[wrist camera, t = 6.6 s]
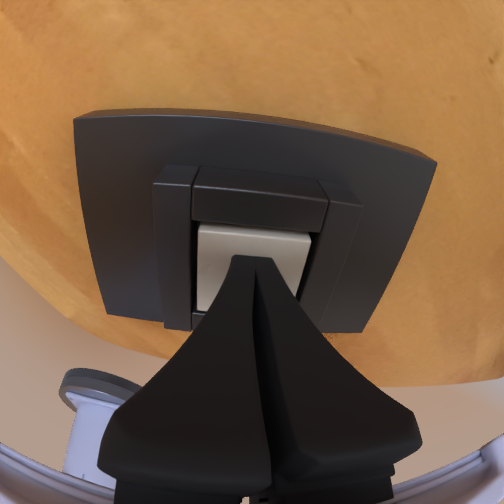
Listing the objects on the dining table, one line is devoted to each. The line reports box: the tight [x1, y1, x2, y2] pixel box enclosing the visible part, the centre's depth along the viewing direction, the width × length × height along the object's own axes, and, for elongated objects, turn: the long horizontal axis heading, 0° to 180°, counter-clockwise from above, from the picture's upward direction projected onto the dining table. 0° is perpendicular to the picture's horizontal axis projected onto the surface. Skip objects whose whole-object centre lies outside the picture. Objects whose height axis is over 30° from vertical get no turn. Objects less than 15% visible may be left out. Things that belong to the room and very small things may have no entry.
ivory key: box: [197, 221, 311, 311], centre depth 11 cm, size 4×4×2 cm
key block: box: [73, 108, 437, 333], centre depth 11 cm, size 10×14×4 cm
